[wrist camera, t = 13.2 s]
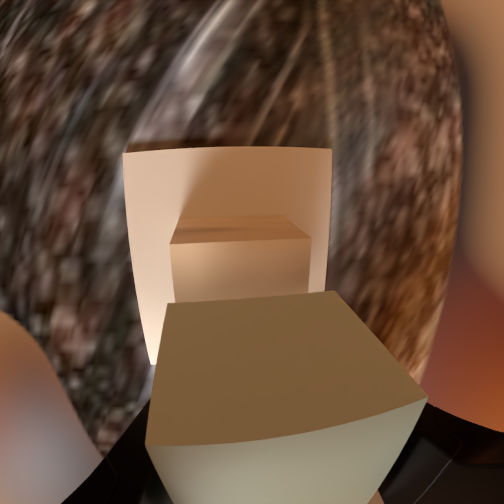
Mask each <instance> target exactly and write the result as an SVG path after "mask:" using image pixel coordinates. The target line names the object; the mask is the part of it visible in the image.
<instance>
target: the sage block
mask: <svg viewBox="0 0 504 504" xmlns="http://www.w3.org/2000/svg"><path fill="white" fill-rule="evenodd" d="M427 399H428V396H427V395H426V394H425V392H424V391H423V390H422V389H421V388H420V386H419V385H418V384H417V383H416V382H415V381H414V379H413V378H412V377H411V376H410V375H409V374H408V372H407V371H406V370H405V369H404V368H403V367H402V365H401V364H400V363H399V362H398V361H397V360H396V359H395V357H394V356H393V355H392V354H391V353H390V352H389V351H388V349H387V348H386V347H385V346H384V345H383V344H382V343H381V342H380V340H379V339H378V338H377V337H376V336H375V335H374V334H373V333H372V331H371V330H370V329H369V328H368V327H367V326H366V325H365V324H364V323H363V321H362V320H361V319H360V318H359V317H358V316H357V315H356V314H355V313H354V312H353V310H352V309H351V308H350V307H349V306H348V305H347V304H346V303H345V302H344V301H343V299H342V298H341V297H340V296H339V295H338V294H337V293H336V292H335V291H334V290H333V291H323V292H313V293H303V294H292V295H281V296H270V297H257V298H244V299H230V300H215V301H199V302H180V303H167V308H166V313H165V318H164V323H163V328H162V334H161V339H160V345H159V350H158V356H157V362H156V368H155V374H154V381H153V387H152V394H151V401H150V408H149V415H148V423H147V431H146V440H145V447H146V449H147V451H148V454H149V456H150V458H151V460H152V462H153V464H154V467H155V469H156V471H157V473H158V475H159V477H160V479H161V481H162V483H163V485H164V487H165V489H166V490H167V492H168V494H169V496H170V498H171V500H172V502H173V503H174V504H368V502H369V501H370V499H371V498H372V497H373V495H374V494H375V492H376V491H377V489H378V488H379V486H380V485H381V483H382V482H383V480H384V479H385V477H386V476H387V474H388V472H389V471H390V469H391V468H392V466H393V464H394V463H395V461H396V459H397V458H398V456H399V454H400V452H401V451H402V449H403V447H404V445H405V443H406V442H407V440H408V438H409V436H410V434H411V432H412V430H413V428H414V426H415V424H416V422H417V420H418V418H419V416H420V414H421V412H422V410H423V408H424V406H425V404H426V401H427Z"/></svg>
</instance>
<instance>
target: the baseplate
mask: <svg viewBox="0 0 504 504" xmlns="http://www.w3.org/2000/svg"><path fill="white" fill-rule="evenodd" d="M123 171H124V188H125V202H126V214H127V224H128V234H129V243H130V251H131V259H132V266H133V273H134V280H135V287H136V293H137V299H138V305H139V310H140V316H141V321H142V326H143V331H144V336H145V341H146V345H147V350H148V355H149V359H150V363H151V364H156V362H157V356H158V350H159V345H160V339H161V334H162V328H163V323H164V318H165V313H166V308H167V303H175V297H174V288H173V279H172V268H171V258H170V246H169V244H170V241H171V239H172V236H173V233H174V230H175V228H176V225H177V222H178V219H193V218H215V217H242V216H276V215H283V216H285V217H286V218H287V219H288V220H290V221H291V222H292V223H293V224H295V225H296V226H297V227H298V228H300V229H301V230H302V231H303V232H305V233H306V234H307V235H308V236H310V237H311V238H312V241H311V258H310V273H309V286H308V293H313V292H323V291H324V290H325V279H326V268H327V255H328V241H329V225H330V205H331V179H332V149H324V148H304V147H263V146H243V147H202V148H182V149H167V150H154V151H142V152H132V153H123Z"/></svg>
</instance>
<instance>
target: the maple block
mask: <svg viewBox="0 0 504 504" xmlns="http://www.w3.org/2000/svg"><path fill="white" fill-rule="evenodd" d="M311 241H312V238H311V237H310V236H308V235H307V234H306V233H305V232H303V231H302V230H301V229H300V228H298V227H297V226H296V225H295V224H293V223H292V222H291V221H290V220H288V219H287V218H286V217H285V216H283V215H276V216H242V217H215V218H193V219H178V222H177V225H176V228H175V230H174V233H173V236H172V239H171V241H170V244H169V246H170V258H171V268H172V279H173V288H174V297H175V303H180V302H199V301H215V300H230V299H244V298H257V297H270V296H281V295H292V294H303V293H308V286H309V273H310V258H311Z"/></svg>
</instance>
